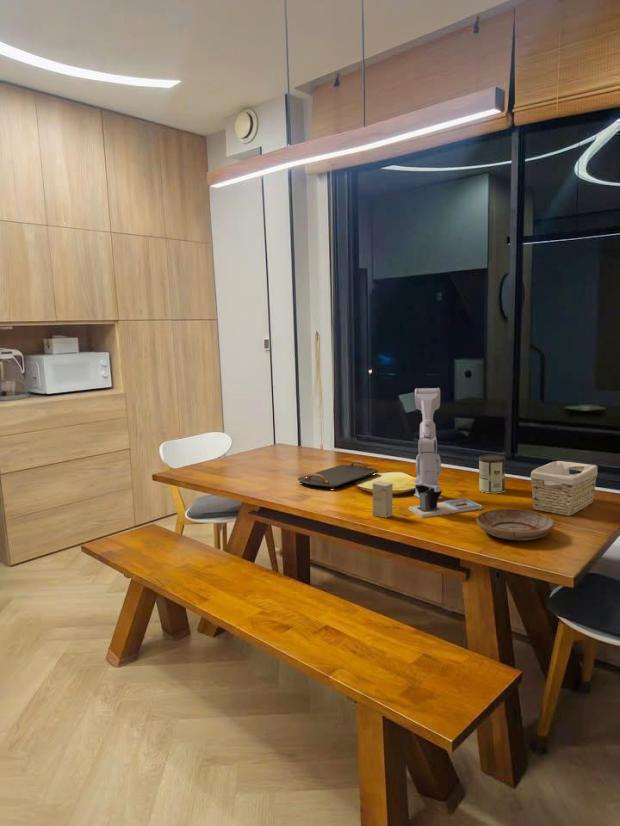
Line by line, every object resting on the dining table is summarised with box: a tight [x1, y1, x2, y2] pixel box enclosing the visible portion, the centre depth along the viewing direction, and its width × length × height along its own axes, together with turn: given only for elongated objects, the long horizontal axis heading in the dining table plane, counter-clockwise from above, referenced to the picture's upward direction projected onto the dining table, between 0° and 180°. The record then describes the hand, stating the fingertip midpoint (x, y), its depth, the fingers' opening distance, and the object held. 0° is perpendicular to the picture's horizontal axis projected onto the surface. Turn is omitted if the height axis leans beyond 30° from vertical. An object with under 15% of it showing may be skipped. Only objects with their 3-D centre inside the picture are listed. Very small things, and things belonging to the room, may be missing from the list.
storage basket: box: [530, 460, 599, 517], centre depth 206 cm, size 24×16×15 cm
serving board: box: [297, 460, 379, 490], centre depth 259 cm, size 39×23×6 cm, turn 137°
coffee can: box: [478, 454, 506, 495], centre depth 230 cm, size 10×10×14 cm
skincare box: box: [372, 480, 393, 519], centre depth 205 cm, size 6×4×12 cm
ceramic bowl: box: [475, 508, 555, 542], centre depth 182 cm, size 23×24×5 cm
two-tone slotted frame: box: [408, 497, 483, 519], centre depth 209 cm, size 10×25×2 cm, turn 107°
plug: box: [419, 492, 437, 512], centre depth 207 cm, size 4×5×7 cm
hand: (428, 506), depth 207 cm, fingers open, 6 cm apart
